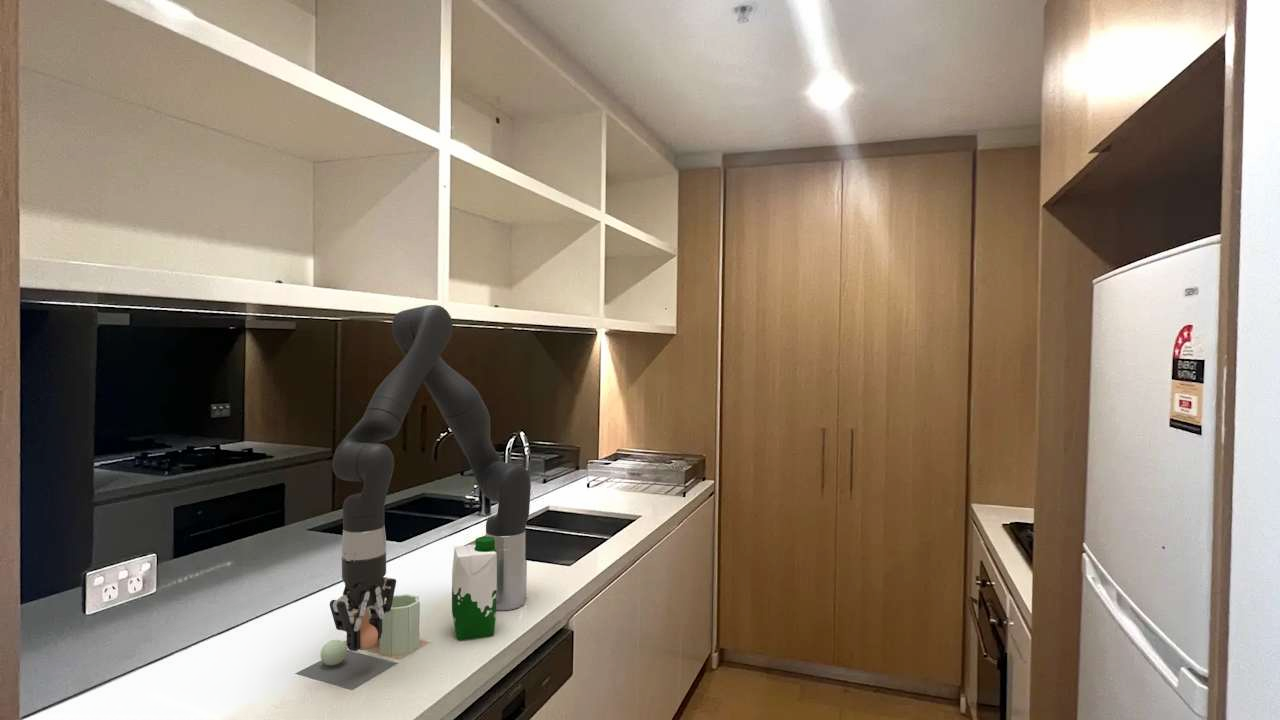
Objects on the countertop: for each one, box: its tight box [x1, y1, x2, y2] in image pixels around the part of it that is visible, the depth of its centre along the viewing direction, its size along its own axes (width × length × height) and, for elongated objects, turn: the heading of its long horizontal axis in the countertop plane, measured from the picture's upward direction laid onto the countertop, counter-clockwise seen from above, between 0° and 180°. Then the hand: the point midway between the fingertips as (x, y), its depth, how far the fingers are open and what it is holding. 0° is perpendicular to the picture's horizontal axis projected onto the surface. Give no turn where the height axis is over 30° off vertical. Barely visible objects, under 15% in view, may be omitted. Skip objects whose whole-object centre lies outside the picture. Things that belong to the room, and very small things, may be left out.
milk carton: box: [451, 535, 497, 642], centre depth 139 cm, size 9×9×20 cm
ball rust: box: [359, 624, 378, 651], centre depth 121 cm, size 4×4×4 cm
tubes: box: [342, 593, 431, 661], centre depth 133 cm, size 8×16×10 cm, turn 67°
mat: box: [294, 649, 399, 691], centre depth 123 cm, size 11×14×1 cm
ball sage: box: [320, 639, 348, 666], centre depth 124 cm, size 4×4×4 cm
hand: (364, 643), depth 121 cm, fingers closed on ball rust, 4 cm apart
